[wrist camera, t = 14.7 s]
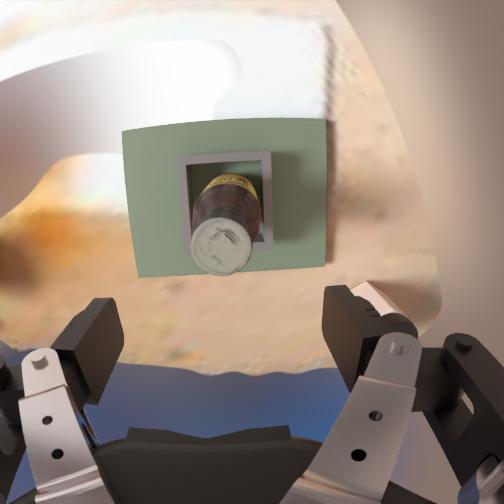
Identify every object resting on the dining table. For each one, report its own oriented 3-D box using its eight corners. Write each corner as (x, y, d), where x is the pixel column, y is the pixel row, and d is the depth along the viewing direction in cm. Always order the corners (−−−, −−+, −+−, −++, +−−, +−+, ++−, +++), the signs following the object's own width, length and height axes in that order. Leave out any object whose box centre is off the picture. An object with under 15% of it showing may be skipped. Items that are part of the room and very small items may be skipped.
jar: (376, 328, 48) (407, 370, 37) (332, 331, 47) (358, 378, 36) (387, 280, 45) (427, 316, 34) (342, 280, 44) (374, 321, 33)
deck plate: (322, 119, 37) (335, 115, 32) (321, 262, 43) (333, 277, 38) (125, 131, 35) (110, 129, 30) (141, 273, 42) (130, 289, 37)
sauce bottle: (247, 166, 37) (265, 182, 18) (260, 213, 39) (289, 274, 20) (196, 181, 37) (162, 213, 18) (211, 227, 39) (195, 300, 20)
